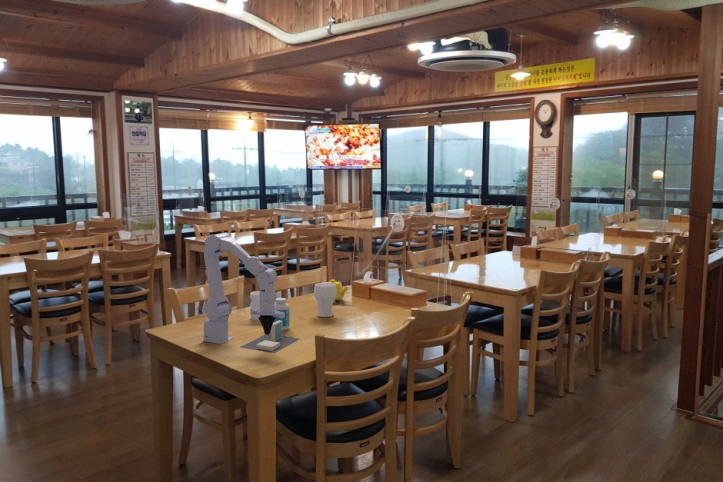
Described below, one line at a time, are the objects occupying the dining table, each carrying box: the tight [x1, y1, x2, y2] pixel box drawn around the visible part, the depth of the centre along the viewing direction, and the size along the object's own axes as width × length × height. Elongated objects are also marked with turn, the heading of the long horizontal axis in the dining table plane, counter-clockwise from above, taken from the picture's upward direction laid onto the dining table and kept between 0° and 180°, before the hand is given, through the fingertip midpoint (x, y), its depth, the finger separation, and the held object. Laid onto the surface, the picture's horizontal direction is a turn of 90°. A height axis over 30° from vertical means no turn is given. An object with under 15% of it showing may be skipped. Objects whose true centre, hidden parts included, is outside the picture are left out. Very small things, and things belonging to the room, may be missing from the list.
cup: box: [313, 281, 336, 318], centre depth 276 cm, size 11×11×15 cm
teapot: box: [327, 279, 349, 304], centre depth 305 cm, size 14×14×11 cm
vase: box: [249, 290, 260, 322], centre depth 269 cm, size 9×9×12 cm
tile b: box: [270, 320, 283, 341], centre depth 237 cm, size 2×6×7 cm, turn 157°
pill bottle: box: [273, 297, 290, 331], centre depth 252 cm, size 8×7×14 cm
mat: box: [240, 333, 301, 354], centre depth 233 cm, size 16×20×1 cm
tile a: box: [257, 340, 280, 351], centre depth 227 cm, size 2×6×7 cm
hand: (267, 333), depth 226 cm, fingers closed
